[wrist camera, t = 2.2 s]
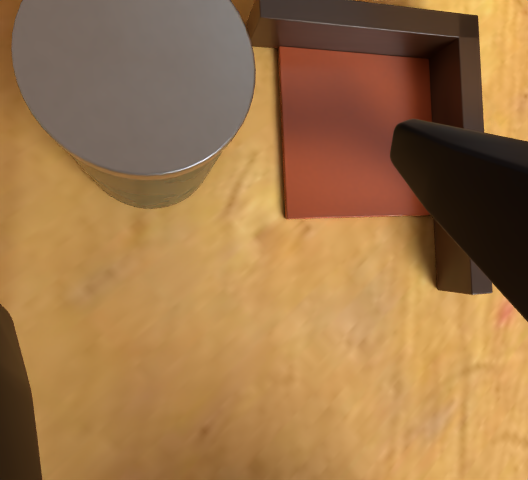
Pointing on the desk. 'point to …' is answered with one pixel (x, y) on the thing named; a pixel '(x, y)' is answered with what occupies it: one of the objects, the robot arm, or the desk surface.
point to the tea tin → (136, 88)
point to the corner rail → (368, 106)
